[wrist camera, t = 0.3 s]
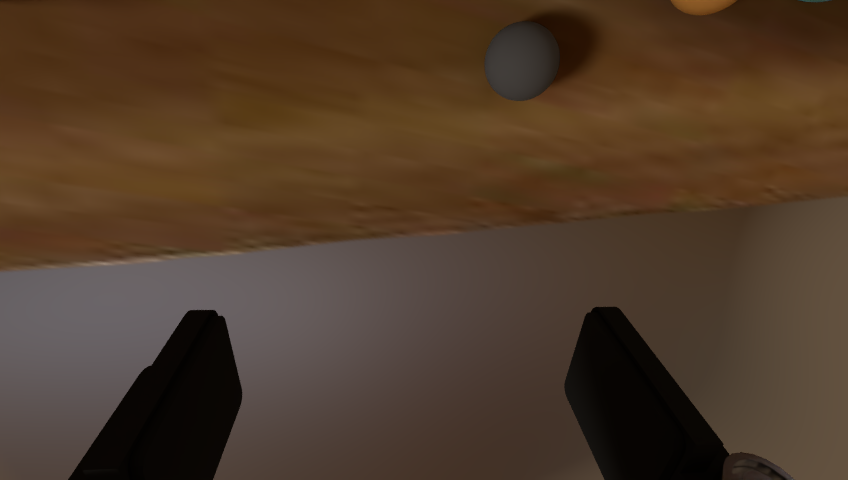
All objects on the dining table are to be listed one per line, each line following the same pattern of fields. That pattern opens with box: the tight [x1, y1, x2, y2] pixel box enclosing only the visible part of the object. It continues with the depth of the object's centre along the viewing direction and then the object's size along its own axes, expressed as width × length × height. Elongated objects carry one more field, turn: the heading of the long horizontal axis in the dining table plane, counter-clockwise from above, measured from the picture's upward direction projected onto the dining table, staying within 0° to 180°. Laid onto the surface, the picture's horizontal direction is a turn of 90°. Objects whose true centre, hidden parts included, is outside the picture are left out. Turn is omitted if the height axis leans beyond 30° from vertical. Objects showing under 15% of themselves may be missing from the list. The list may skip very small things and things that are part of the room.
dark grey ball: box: [485, 21, 560, 101], centre depth 31 cm, size 6×6×6 cm
